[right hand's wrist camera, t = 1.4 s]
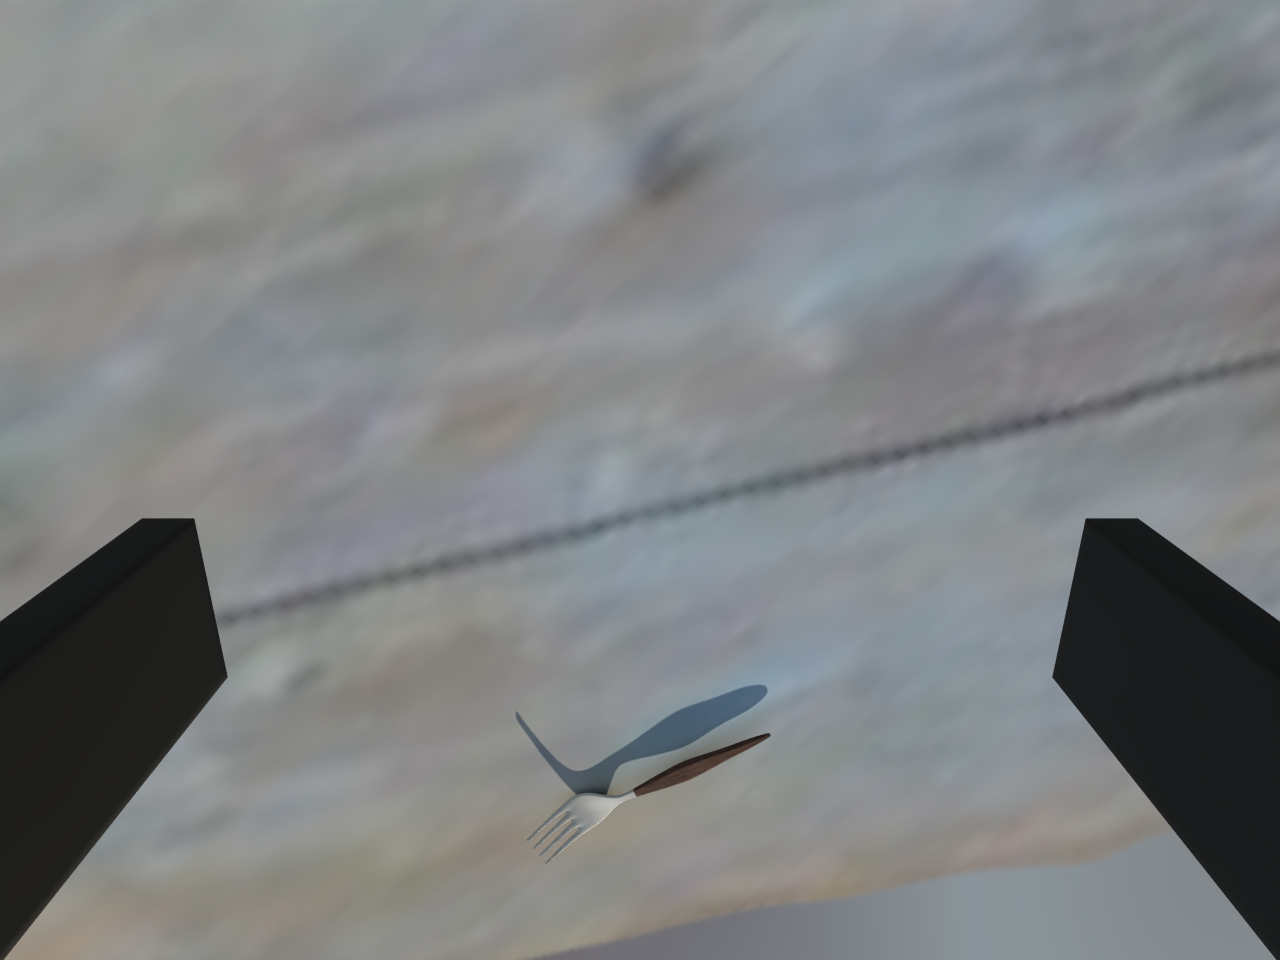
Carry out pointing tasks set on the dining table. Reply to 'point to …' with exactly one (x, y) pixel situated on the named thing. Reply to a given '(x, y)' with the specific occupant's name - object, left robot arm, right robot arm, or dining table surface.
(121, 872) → the dining table surface
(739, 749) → the fork
